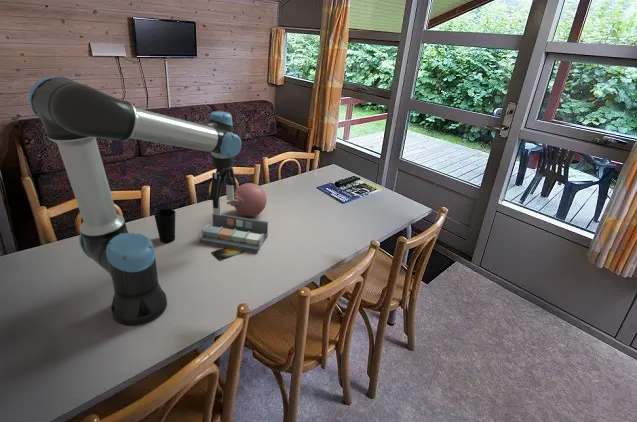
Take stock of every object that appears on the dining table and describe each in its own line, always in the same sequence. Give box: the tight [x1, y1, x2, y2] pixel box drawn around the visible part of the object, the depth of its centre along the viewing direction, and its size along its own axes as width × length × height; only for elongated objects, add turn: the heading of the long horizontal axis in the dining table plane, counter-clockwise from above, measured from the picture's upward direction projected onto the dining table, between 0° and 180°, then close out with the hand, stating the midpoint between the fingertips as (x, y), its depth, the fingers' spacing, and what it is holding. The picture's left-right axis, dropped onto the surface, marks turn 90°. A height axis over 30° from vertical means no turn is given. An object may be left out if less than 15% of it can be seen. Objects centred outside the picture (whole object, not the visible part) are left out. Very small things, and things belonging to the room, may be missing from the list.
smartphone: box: [210, 242, 247, 262], centre depth 142 cm, size 7×1×15 cm
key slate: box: [204, 225, 220, 238], centre depth 148 cm, size 5×5×2 cm
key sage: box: [232, 230, 247, 242], centre depth 147 cm, size 5×5×2 cm
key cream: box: [246, 233, 261, 245], centre depth 146 cm, size 5×5×2 cm
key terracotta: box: [218, 228, 234, 240], centre depth 147 cm, size 5×5×2 cm
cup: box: [153, 208, 176, 244], centre depth 143 cm, size 8×8×12 cm
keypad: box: [198, 213, 269, 254], centre depth 148 cm, size 14×24×7 cm, turn 81°
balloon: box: [226, 182, 267, 217], centre depth 166 cm, size 15×20×15 cm
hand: (223, 207), depth 142 cm, fingers open, 13 cm apart
